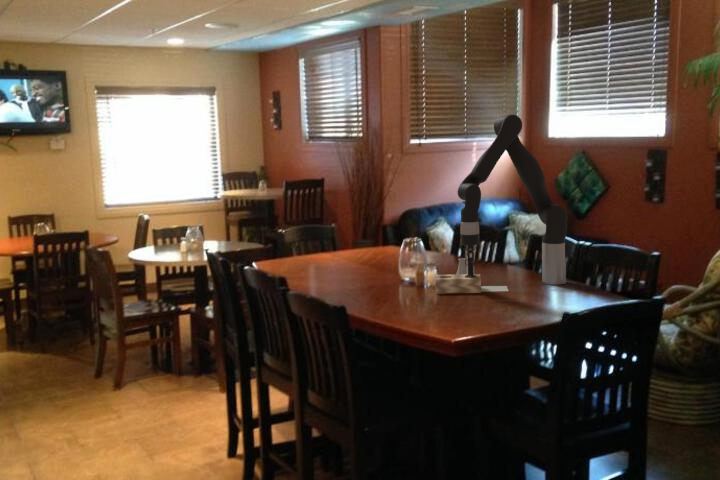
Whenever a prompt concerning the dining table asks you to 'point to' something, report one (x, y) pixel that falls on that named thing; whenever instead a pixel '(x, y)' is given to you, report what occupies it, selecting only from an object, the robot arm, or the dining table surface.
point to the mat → (493, 288)
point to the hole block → (458, 284)
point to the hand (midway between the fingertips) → (470, 274)
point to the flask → (462, 266)
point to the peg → (467, 270)
